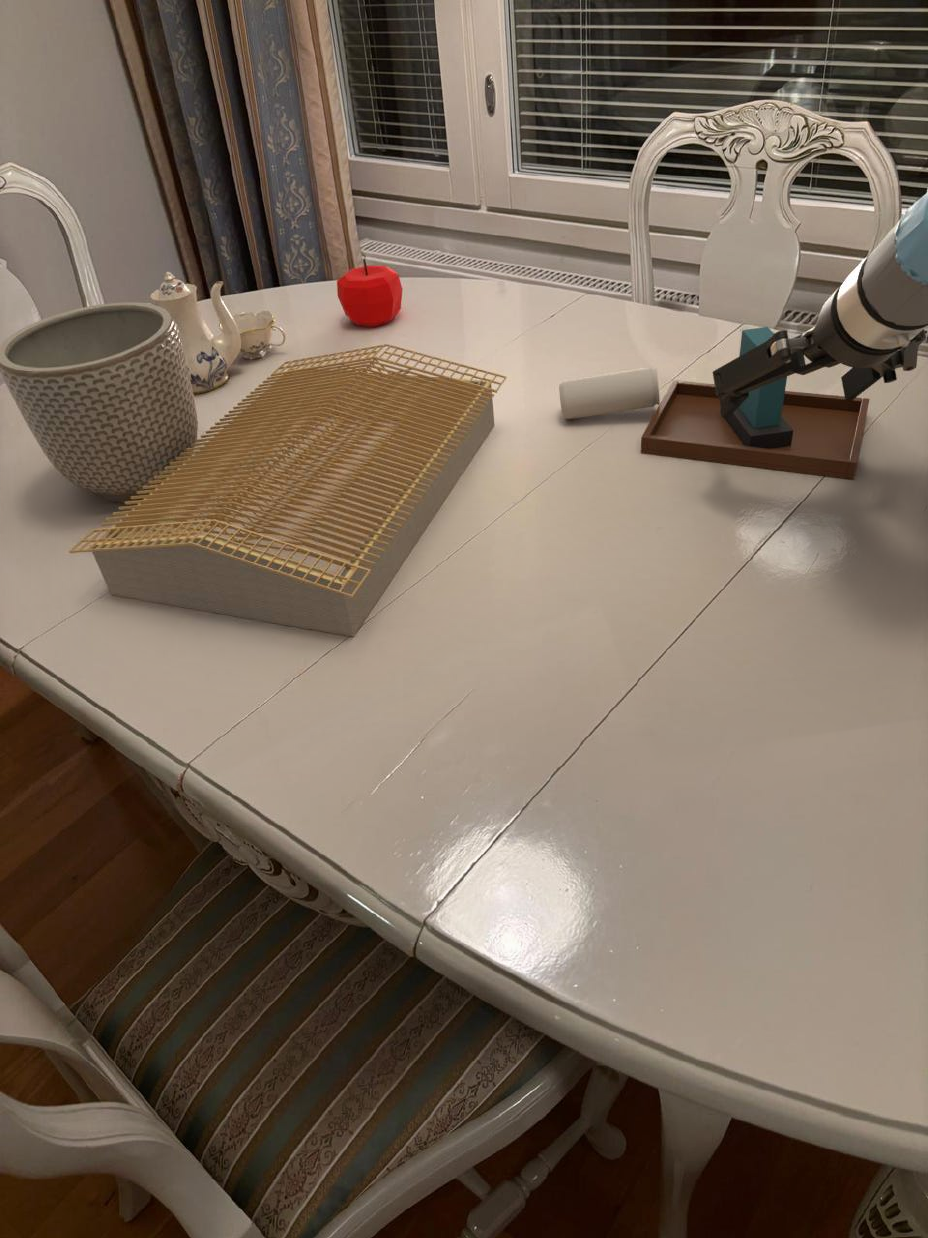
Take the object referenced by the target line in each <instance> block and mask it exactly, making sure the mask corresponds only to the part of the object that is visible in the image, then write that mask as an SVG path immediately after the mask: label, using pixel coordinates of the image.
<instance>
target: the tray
mask: <svg viewBox="0 0 928 1238" xmlns="http://www.w3.org/2000/svg"><path fill="white" fill-rule="evenodd" d="M870 400H871V399H870V398H867V397H866V398H865V397H856V398H855V399H853V400H850V401H845V395H844V396H843V395H833V394H824V393H814V392H813V393H811V392H802V391H792V390H785V394H784V401H783V408H782V414H781V416H782V417H783V419H784V420H785V421H786V422H787V423H788V425H789V426H790V427H791V428H792V429H793V437H792V443H791V446H785V447H778V448H770V449H765V448H757V447H748V446H744V444H743V443H742V441H741V440H740V439H739V437H738V436H737V435H736V433H735V432H734V430H733V429H732V428H731V426H730V425H729V424H728V422H727V421H726V420H725V418H723V417H722V414H721V413H720V412H721V406H720V400H719V397H718V396H716V390H715V384H714V383H708V382H707V383H705V382H695V381H686V380H675V379H672V381H671V383H670V385H669V387H668V388H667V390H666V392H665V393H664V396H663V398H662V399H661V401H660V404H659V405H657V406H658V407H657V409H656V410H655V412H654V413H653V415H652V417H651V419H650V421H649V422H648V425H647V426H646V428H645V430H644V432H643V434H642V436H641V437H640V443H641V444H640V453H641V454H647V455H648V454H649V455H655V456H656V455H657V456H664V457H672V458H680V459H687V460H694V461H703V462H711V463H719V464H728V465H734V466H743V467H752V468H760V469H767V470H768V469H769V470H773V471H784V472H791V473H798V474H799V473H800V474H807V475H815V476H821V477H830V478H838V479H846V480H847V479H848V480H854V479H855V475H856V469H857V466H858V461H859V455H860V451H861V445H862V439H863V435H864V430H865V424H866V420H867V414H868V409H869V404H870Z"/></svg>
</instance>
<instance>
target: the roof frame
mask: <svg viewBox="0 0 928 1238" xmlns="http://www.w3.org/2000/svg"><path fill="white" fill-rule="evenodd" d="M386 347H387V348H386ZM384 348H386V349H384ZM391 348H392V349H393V351H392V352H390V351H389V349H391ZM383 349H384V351H383V352H382V353H380V352H381V351H382V350H383ZM369 350H371V351H369ZM398 350H400V351H403V352H402V354H398V353H396V352H397V351H398ZM362 351H363V352H362ZM361 352H362V353H361ZM353 353H354V354H353ZM379 353H380V355H379V356H377V355H378V354H379ZM406 353H410V354H411V356H410V357H408V356H404V355H405V354H406ZM346 354H347V355H346ZM385 354H386V355H389V356H387V358H383V356H384V355H385ZM371 355H372V356H371ZM415 355H418V356H421V357H420V358H419V359H418V358H417V359H416V358H413V357H415ZM363 356H365V357H363ZM392 356H395V357H398V358H397V359H396V360H394V361H393V360H390V358H391V357H392ZM356 357H357V358H356ZM362 357H363V358H362ZM355 358H356V359H355ZM424 358H429V359H430V360H429V361H423V359H424ZM347 359H348V360H347ZM400 359H404V360H406V361H405V362H404V363H401V362H400V363H399V361H400ZM339 360H341V361H339ZM433 360H436V361H439V362H438V363H437V364H434V363H432V361H433ZM307 361H308V362H307ZM332 361H333V362H332ZM410 361H411V362H412V361H413V362H416V363H415V364H414V365H413V366H411V365H407V364H408V363H409V362H410ZM331 362H332V363H331ZM293 363H294V364H293ZM324 363H325V364H324ZM442 363H447V366H445V367H444V366H440V365H441V364H442ZM316 364H317V365H316ZM418 364H422V365H424V366H423V367H422V368H419V367H417V366H418ZM309 365H310V366H309ZM377 365H378V366H377ZM393 365H394V366H393ZM451 365H455V366H457V367H456V368H455V369H453V368H450V366H451ZM308 366H309V367H308ZM428 366H431V367H434V368H433V369H432V370H431V371H429V370H426V368H427V367H428ZM400 367H401V368H400ZM460 367H462V368H465V371H464V372H462V371H459V368H460ZM388 368H389V369H388ZM404 368H405V369H404ZM374 369H375V370H374ZM437 369H441V370H443V371H441V373H437V372H435V371H436V370H437ZM394 370H395V371H394ZM469 370H473V371H475V373H473V374H471V373H468V371H469ZM278 371H279V372H278ZM446 371H449V372H452V373H451V374H450V376H447V375H444V373H445V372H446ZM384 372H385V373H384ZM479 372H480V373H483V374H484V375H483V376H482V377H480V376H477V374H478V373H479ZM422 373H423V374H422ZM455 374H459V375H461V376H460V377H459V378H455V377H453V376H454V375H455ZM487 375H491V376H494V377H493V378H492V379H490V378H486V376H487ZM464 376H467V377H470V378H463V377H464ZM497 377H498V378H502V381H501V382H499V381H495V380H496V378H497ZM506 379H507V376H506V375H503V374H498V373H495V372H491V371H488V370H484V369H480V368H477V367H473V366H470V365H465V364H461V363H458V362H454V361H452V360H448V359H443V358H439V357H436V356H432V355H429V354H425V353H422V352H418V351H414V350H410V349H407V348H403V347H400V346H397V345H396V346H395V345H393V344H388V343H385V344H378V345H374V346H368V347H362V348H357V349H351V350H345V351H339V352H334V353H328V354H323V355H316V356H311V357H305V358H299V359H294V360H288V361H284V362H283V363H281V364H280V365H279V367H277V368H276V369H275V370H274V371H273V372H271V373H270V376H268V377H266V380H262V383H261V384H258V387H255V388H254V390H253V391H250V392H249V393H250V394H248V395H245V398H242V399H241V402H237V406H233V407H232V409H233V410H228V413H227V414H224V415H223V417H224V418H223V417H222V418H219V422H214V426H210V427H209V428H210V430H205V434H201V435H200V438H199V439H198V438H197V440H196V444H191V447H194V446H195V447H194V448H186V451H192V450H193V452H185V453H180V454H181V456H183V455H191V454H192V455H191V456H184V457H176V458H175V459H176V460H182V459H188V460H184V461H176V462H170V464H171V465H174V464H183V463H184V464H183V465H177V466H168V467H165V470H166V469H175V468H178V469H177V470H170V471H161V472H159V473H160V474H168V473H173V474H171V475H163V476H154V479H161V478H167V479H166V480H157V481H148V483H149V484H155V483H161V484H160V485H151V486H143V489H149V488H156V489H155V490H146V491H137V494H145V493H150V494H149V495H142V496H132V497H131V499H140V498H145V499H143V500H138V501H128V502H125V503H124V504H125V506H118V510H120V511H114V512H112V515H113V516H114V517H113V516H112V517H106V518H105V519H106V521H107V522H102V523H99V526H100V527H103V528H93V529H92V530H91V531H90V532H89V533H88V534H87V535H85V536H84V537H83V538H81V540H80V541H78V542H77V543H76V544H75V545H74V546H73V547H71V549H70V550H68V553H69V554H77V553H92V555H93V557H94V559H95V562H96V564H97V566H98V569H99V571H100V573H101V576H102V578H103V580H104V582H105V585H106V587H107V589H108V591H109V593H110V595H111V596H117V597H122V598H128V599H133V600H134V599H135V600H140V601H144V602H145V601H146V602H151V603H157V604H163V605H169V606H175V607H181V608H185V609H192V610H198V611H203V612H209V613H214V614H219V615H226V616H232V617H238V618H243V619H249V620H255V621H261V622H266V623H272V624H277V625H283V626H288V627H289V626H290V627H294V628H300V629H307V630H312V631H318V632H324V633H329V634H333V635H334V634H335V635H341V636H347V637H352V638H354V637H355V636H356V634H357V633H358V631H359V630H360V628H361V627H362V625H363V624H364V622H365V621H366V619H367V618H368V616H369V615H370V613H371V612H372V610H373V609H374V608H375V606H376V605H377V603H378V601H379V600H380V599H381V597H382V595H383V594H384V593H385V591H386V589H387V588H388V586H389V585H390V583H391V582H392V580H393V579H394V577H395V576H396V574H397V573H398V571H399V570H400V568H401V567H402V565H403V564H404V562H405V561H406V559H407V558H408V556H409V555H410V553H411V551H412V550H413V549H414V547H415V546H416V544H417V543H418V542H419V539H420V538H421V537H422V535H423V533H424V532H425V531H426V529H427V528H428V526H429V524H430V523H431V522H432V520H433V518H434V517H435V516H436V514H437V513H438V511H439V510H440V508H441V506H442V505H443V503H444V502H445V501H446V499H447V498H448V496H449V495H450V493H451V491H452V490H453V488H454V487H455V485H456V484H457V482H458V481H459V479H460V478H461V477H462V475H463V474H464V472H465V470H466V469H467V467H468V466H469V464H470V463H471V461H472V460H473V458H474V457H475V455H476V454H477V452H478V451H479V449H480V448H481V446H482V445H483V443H484V442H485V440H486V439H487V438H488V436H489V434H490V433H491V432H492V430H493V428H494V427H495V414H494V413H495V412H494V402H493V398H494V397H495V394H497V393H498V391H499V390H500V388H501V387H502V385H503V384H504V382H505V381H506ZM492 384H496V385H498V387H497V388H496V389H495V388H493V387H492ZM494 393H495V394H494ZM327 423H329V424H327ZM389 424H390V425H389ZM320 427H322V428H320ZM383 428H384V429H383ZM385 428H386V429H385ZM313 436H314V437H313ZM373 437H376V438H373ZM377 437H378V438H377ZM310 441H311V442H310ZM368 441H369V442H368ZM374 442H376V443H374ZM302 445H304V446H302ZM365 446H366V447H365ZM367 446H368V447H367ZM296 449H297V450H296ZM298 450H299V451H298ZM361 451H366V452H361ZM292 454H293V455H292ZM355 455H356V456H355ZM358 456H359V457H358ZM361 456H362V457H361ZM287 459H288V460H287ZM349 460H353V461H349ZM355 461H358V462H355ZM282 464H283V465H282ZM345 465H349V466H345ZM350 466H352V467H350ZM340 470H344V471H340ZM345 471H348V472H345ZM334 475H340V476H344V477H339V476H334ZM328 480H332V481H333V480H334V481H339V482H332V481H328ZM291 481H292V482H291ZM323 485H327V486H333V487H326V486H323ZM334 487H336V488H334ZM317 490H318V491H317ZM319 491H327V492H329V493H325V492H319ZM309 495H311V496H309ZM266 496H268V497H266ZM314 496H319V497H323V498H318V497H317V498H316V497H314ZM275 497H277V498H275ZM324 497H325V498H327V499H325V498H324ZM259 501H260V502H259ZM306 501H310V502H316V503H319V504H316V503H315V504H314V503H309V502H306ZM261 502H262V503H261ZM322 504H323V505H322ZM126 505H127V506H126ZM128 505H129V506H128ZM250 506H252V507H250ZM299 506H300V507H299ZM253 507H257V508H258V509H257V508H253ZM302 507H309V508H312V510H311V509H304V508H302ZM264 508H265V509H264ZM313 509H315V510H313ZM123 510H125V511H123ZM290 511H291V512H290ZM246 512H247V513H246ZM248 512H249V513H252V514H254V515H252V514H249V513H248ZM294 512H298V513H305V514H309V515H312V516H309V515H301V514H297V513H294ZM202 513H204V514H202ZM260 514H261V515H260ZM122 515H124V516H122ZM240 518H246V519H247V521H246V520H243V519H240ZM289 518H293V519H300V520H303V521H296V520H292V519H289ZM109 521H110V522H109ZM111 521H115V522H111ZM306 521H307V522H306ZM233 523H234V524H241V525H242V526H243V527H242V526H237V525H234V524H233ZM280 523H284V524H291V525H295V526H298V527H293V526H292V527H291V526H286V525H283V524H280ZM193 526H195V527H193ZM248 526H250V527H248ZM299 527H302V528H299ZM216 528H220V529H221V531H220V530H216ZM228 529H229V530H235V532H230V531H228ZM274 529H278V530H286V531H290V532H293V533H295V534H293V533H285V532H280V531H277V530H274ZM326 530H327V531H326ZM103 532H104V534H102V533H103ZM332 532H333V533H332ZM94 533H95V534H94ZM93 534H94V535H93ZM101 534H102V535H101ZM215 534H216V535H215ZM264 534H266V535H264ZM314 534H315V535H314ZM363 534H364V535H363ZM92 535H93V536H92ZM100 535H101V536H100ZM222 535H223V536H229V537H230V538H226V537H223V536H222ZM268 535H273V536H274V535H275V536H280V537H284V538H286V539H280V538H279V539H278V538H274V537H271V536H268ZM91 536H92V537H91ZM99 536H100V537H99ZM90 537H91V538H90ZM98 537H99V538H98ZM236 537H238V538H241V539H237V538H236ZM89 538H90V539H89ZM287 539H290V540H287ZM252 540H257V541H256V542H251V541H252ZM262 541H265V542H267V541H268V542H270V543H269V544H264V543H261V542H262ZM311 541H312V542H311ZM314 542H316V543H314ZM339 542H340V543H339ZM83 543H84V544H83ZM274 543H276V544H279V545H282V546H278V545H274ZM317 543H319V544H317ZM82 544H83V545H82ZM320 544H321V545H320ZM81 545H82V546H81ZM88 546H89V547H88ZM327 546H328V547H327ZM78 547H79V548H78ZM86 547H88V548H86ZM256 547H258V548H265V549H264V550H261V549H258V548H256ZM305 547H306V548H305ZM355 547H356V548H355ZM77 548H78V549H77ZM333 548H334V549H333ZM269 549H273V550H278V552H277V553H276V554H275V553H272V552H269V551H268V550H269ZM311 549H312V550H311ZM336 549H337V550H336ZM314 550H316V551H314ZM340 550H341V551H340ZM283 551H286V552H291V554H290V555H289V556H288V558H285V557H282V556H279V555H280V554H281V553H282V552H283ZM317 551H319V552H317ZM342 551H344V552H342ZM345 552H346V553H345ZM296 553H300V554H302V555H304V557H303V558H302V559H301V560H300V561H297V560H295V559H292V558H293V557H294V555H296ZM324 553H325V554H324ZM327 554H328V555H327ZM352 554H353V555H352ZM329 555H331V556H329ZM308 556H309V557H311V558H315V559H316V561H315V562H314V563H313V564H312V565H311V566H309V565H307V564H304V562H305V560H306V559H307V558H308ZM332 556H334V557H332ZM336 557H337V558H336ZM338 558H341V559H338ZM342 559H344V560H342ZM320 560H321V561H323V562H324V561H325V562H327V563H328V564H327V566H326V567H325V568H324V569H322V568H318V567H316V566H317V564H318V563H319V562H320ZM346 560H347V561H346ZM348 561H349V562H348ZM332 564H334V565H336V566H340V569H338V571H337V572H336V574H335V573H332V572H330V571H329V572H328V569H329V568H330V567H331V565H332Z"/></svg>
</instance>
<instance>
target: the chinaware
mask: <svg viewBox="0 0 928 1238" xmlns="http://www.w3.org/2000/svg"><path fill="white" fill-rule="evenodd" d="M163 280H164V281H163V282H162V283H161V284H160V286H159V289H156V290H155V291H154V292H151V293H150V296H149V297H150V298H151V299H152V301H153V302H154V303H152V302H147V303H148V304H153V305H157V306H160V307H162V308H164V309H166V310H168V311H169V312H170V313H171V314H172V316H173V318H174V320H175V323H176V325H177V328H178V331H179V335H180V339H181V342H182V347H183V351H184V355H185V360H186V364H187V368H188V372H189V376H190V380H191V385H192V390H193V395H196V394H202V393H207V392H210V391H213V390H215V389H218V388H220V387H221V386H223V385H224V384H226V383H227V381H228V380H229V373H228V372H227V371H228V370H229V368H230V367H231V365H232V364H233V362H234V361H235V360H236V358H237V357H238V356H239V354H240V352H241V353H244V355H243V356H242V357H243V358H245V359H248V360H254V359H259V358H264V356H265V355H266V354H267V351H268V352H271V351H272V350H273V346H276V347H281V346H283V345H284V344H285V342H286V338H287V337H286V333H285V331H284V329H283V328H282V327H281V326H278V325H275V324H276V323H275V322H276V321H275V319H276V318H274V316H273V314H272V313H271V312H270V311H268V310H265V311H264V310H263V311H260V312H258V313H253V312H250V311H241V312H239V313H236V314H235V315H234V316H232V314H231V312H230V311H229V308H228V307H227V306H226V303H224V300H223V299H222V297H221V289H222V286H223V284H224V281H221V280H220V281H216V282H215V283H214V284H213V285H212V287H211V289H210V301H211V305H212V307H213V309H214V312H215V314H216V317H217V319H218V321H219V324H218V326H219V329H220V331H221V333H220V335H214V334H212V332H211V330H210V328H209V326H208V325H207V323H206V321H205V320H204V317H203V315H202V313H201V310H200V307H199V303H198V299H197V290H198V287H197V286H196V285H195V284H191V283H184V282H183V281H182V280H180V279H178V278H176V277H175V275H173V274H172V272H170V271H166V273H165V276H164V277H163ZM276 328H277V329H278V330H279V331H280V332H281V334H282V336H283V339H282V341H281V342H280V343H273V342H271V341H272V340H271V339H272V335H273V332H275V331H276ZM265 349H266V350H265Z"/></svg>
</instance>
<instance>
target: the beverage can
mask: <svg viewBox="0 0 928 1238" xmlns="http://www.w3.org/2000/svg"><path fill="white" fill-rule="evenodd" d="M558 390H559V401H560V409H561V415H562V418H564V419H567V420H573V419H578V418H587V417H592V416H593V417H594V416H599V415H605V414H606V415H608V414H612V413H621V412H626V411H633V410H640V409H641V410H642V409H647V408H654V407H655V406H656V405H657V406H659V405H660V403H661V401H660V399H661V398H660V387H659V378H658V371H657V367H656V366H655V367H653V368H652V367H650V366H648V367H641V368H635V369H629V370H622V371H616V372H610V373H605V374H598V375H597V374H596V375H591V376H585V377H580V378H573V379H566V380H563V381H561V382H560V383H559V385H558Z"/></svg>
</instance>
